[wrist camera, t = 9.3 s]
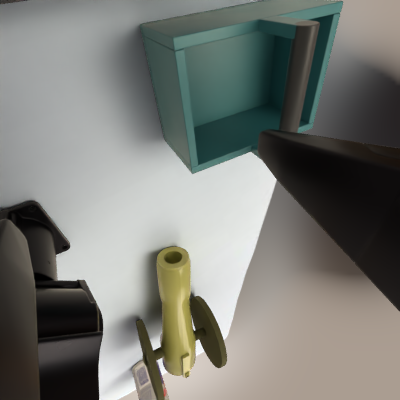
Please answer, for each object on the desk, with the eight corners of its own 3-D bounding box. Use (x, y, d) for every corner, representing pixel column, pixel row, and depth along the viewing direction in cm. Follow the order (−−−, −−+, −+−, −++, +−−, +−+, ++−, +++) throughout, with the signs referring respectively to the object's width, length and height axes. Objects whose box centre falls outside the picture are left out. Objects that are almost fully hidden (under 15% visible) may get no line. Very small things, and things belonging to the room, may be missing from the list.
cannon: (121, 257, 29) (151, 353, 22) (207, 231, 34) (256, 302, 27) (136, 342, 45) (156, 415, 38) (194, 316, 50) (222, 376, 42)
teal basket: (269, 105, 26) (347, 146, 19) (164, 140, 22) (215, 203, 16) (280, -3, 19) (400, 4, 13) (139, 24, 16) (205, 51, 10)
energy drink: (155, 362, 56) (175, 425, 48) (132, 373, 54) (149, 442, 46) (156, 352, 53) (177, 419, 45) (131, 364, 50) (149, 437, 42)
